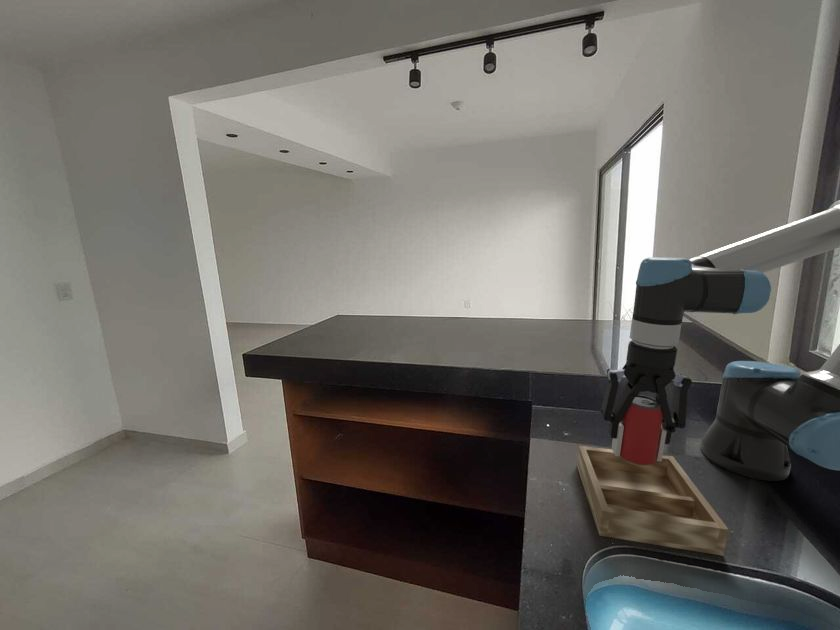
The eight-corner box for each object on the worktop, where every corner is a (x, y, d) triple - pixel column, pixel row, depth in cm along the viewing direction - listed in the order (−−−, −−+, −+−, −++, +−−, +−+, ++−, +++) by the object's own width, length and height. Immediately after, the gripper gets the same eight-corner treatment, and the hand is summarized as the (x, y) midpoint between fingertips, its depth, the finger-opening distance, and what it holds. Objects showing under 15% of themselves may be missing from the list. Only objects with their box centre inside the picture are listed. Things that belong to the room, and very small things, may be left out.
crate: (669, 477, 75) (672, 456, 74) (723, 555, 57) (728, 529, 56) (576, 465, 79) (578, 445, 78) (599, 535, 61) (602, 510, 60)
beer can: (661, 469, 66) (671, 410, 63) (623, 464, 67) (631, 407, 65) (646, 448, 72) (655, 394, 70) (611, 445, 74) (619, 391, 71)
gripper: (703, 340, 66) (682, 450, 71) (590, 334, 70) (578, 438, 75) (727, 353, 59) (702, 474, 64) (600, 345, 63) (586, 459, 68)
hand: (635, 454), depth 70 cm, fingers closed on beer can, 7 cm apart
